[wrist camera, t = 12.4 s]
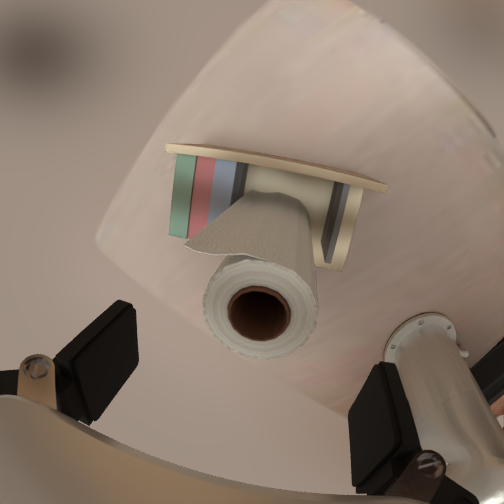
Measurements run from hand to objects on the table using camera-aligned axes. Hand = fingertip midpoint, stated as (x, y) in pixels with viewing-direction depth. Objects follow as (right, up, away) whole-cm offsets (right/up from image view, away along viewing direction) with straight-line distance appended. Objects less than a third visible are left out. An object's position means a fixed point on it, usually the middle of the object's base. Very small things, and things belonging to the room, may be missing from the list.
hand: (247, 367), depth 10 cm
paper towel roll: (+4, +9, +24) cm, 26 cm away
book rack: (+3, +10, +25) cm, 27 cm away
